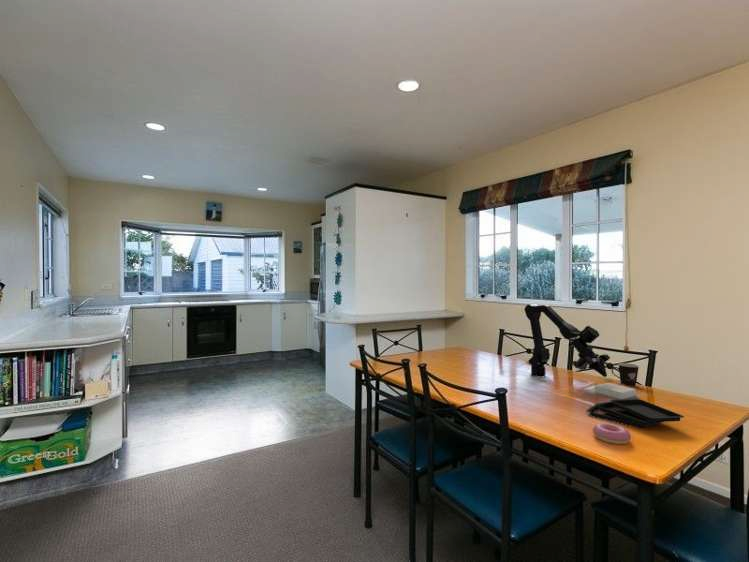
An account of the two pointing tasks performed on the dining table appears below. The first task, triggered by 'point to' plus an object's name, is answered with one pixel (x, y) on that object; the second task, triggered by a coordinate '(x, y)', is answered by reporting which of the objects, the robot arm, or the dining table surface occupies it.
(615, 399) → the slate board
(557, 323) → the robot arm
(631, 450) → the dining table surface
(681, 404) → the dining table surface
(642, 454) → the dining table surface
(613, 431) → the doughnut
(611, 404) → the tray
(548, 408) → the dining table surface
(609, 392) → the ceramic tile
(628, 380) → the coffee mug
